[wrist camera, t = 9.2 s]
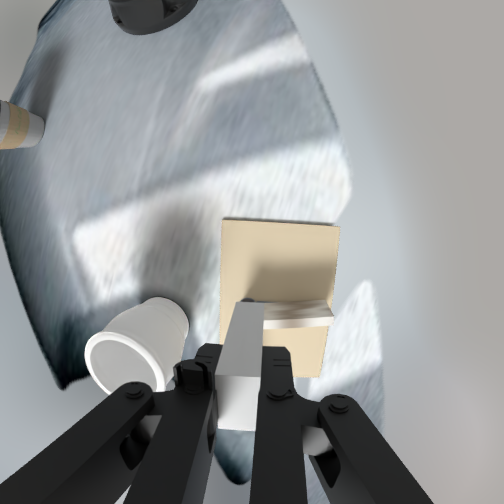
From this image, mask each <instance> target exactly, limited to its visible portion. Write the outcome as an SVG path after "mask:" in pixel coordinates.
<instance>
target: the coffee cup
mask: <svg viewBox="0 0 504 504" xmlns="http://www.w3.org/2000/svg"><path fill="white" fill-rule="evenodd" d="M43 133H44V121H43V119H42V118H41V117H39V116H37V115H35V114H32V113H30V112H28V111H27V110H25V109H23V108H21V107H18V106H16V105H14V104H11V103H9V102H7V101H2V100H0V149H13V148H19V147H33V146H35V145H37V144H38V143H39V142H40V140H41V138H42V136H43Z"/></svg>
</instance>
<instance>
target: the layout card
mask: <svg viewBox="0 0 504 504" xmlns="http://www.w3.org/2000/svg"><path fill="white" fill-rule="evenodd" d="M339 234H340V227H338V226H337V227H336V226H324V225H310V224H294V223H277V222H259V221H239V220H222V233H221V271H220V344H222V345H223V344H224V341H225V338H226V334H227V331H228V327H229V324H230V321H231V317H232V314H233V310H234V307H235V304H236V302H241V301H242V300H244V299H252V300H253V301H254V302H256V303H274V302H294V301H311V300H326V302H327V304H328V306H329V308H330V309H331V305H332V298H333V290H334V282H335V274H336V265H337V256H338V244H339ZM327 332H328V326H317V327H302V328H284V329H263V346H284V347H286V348H287V349H288V351H289V352H290V354H291V363H292V372H293V377H320V371H321V366H322V361H323V355H324V350H325V344H326V338H327Z"/></svg>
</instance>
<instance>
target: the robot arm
mask: <svg viewBox="0 0 504 504" xmlns="http://www.w3.org/2000/svg"><path fill="white" fill-rule="evenodd" d="M196 3H197V0H109V4H110V8H111V12H112V16H113V19H114V21H115V23H116V24H117V25H118V26H119V27H120V28H121V29H122V30H123V31H125V32H126V33H129V34H133V35H145V34H151V33H155V32H158V31H161V30H163V29H166V28H168V27H170V26H172V25H173V24H175V23H177V22H178V21H180V20H181V19H182V18H184V17H185V16H186V15H187V14H188V13H189V12H190V11H191V10H192V9H193V7H194V6H195V4H196ZM263 327H264V303H256V302H236V304H235V307H234V310H233V314H232V317H231V321H230V324H229V327H228V331H227V334H226V338H225V341H224V344H223V345H222V344H209V343H205V344H204V345H203V346H201V347H200V348H199V349H198V351H197V353H196V356H195V358H194V359H188V360H184V361H181V362H179V363H177V364H175V366H174V367H173V373H174V380H175V388H174V390H170V391H163V392H153V390H152V388H151V387H150V386H149V385H148V384H146V383H143V382H139V381H134V382H128V383H125V384H123V385H121V386H120V387H119V388H117V389H116V390H115V391H114V392H113V393H111V394H110V395H109V396H108V397H107V398H106V399H104V400H103V401H102V402H101V403H100V404H98V405H97V406H96V407H95V408H94V409H93V410H91V411H90V412H89V413H88V414H86V415H85V416H84V417H83V418H82V419H80V420H79V421H78V422H77V423H76V424H74V425H73V426H72V427H71V428H70V429H69V430H67V431H66V432H65V433H64V434H62V435H61V436H60V437H59V438H57V439H56V440H55V441H54V442H52V443H51V444H50V445H49V446H48V447H46V448H45V449H44V450H43V451H41V452H40V453H39V454H38V455H36V456H35V457H34V458H33V459H31V460H30V461H29V462H28V463H27V464H25V465H24V466H23V467H21V468H20V469H19V470H18V471H16V472H15V473H14V474H13V475H11V476H10V477H9V478H8V479H6V480H5V481H4V482H2V483H1V484H0V504H114V503H115V502H116V501H117V500H118V499H119V498H120V497H121V495H122V494H123V493H124V492H125V491H126V490H127V488H128V487H129V486H130V485H131V486H130V489H129V491H128V493H127V496H126V498H125V500H124V502H123V504H203V499H204V494H205V490H206V485H207V480H208V475H209V471H210V466H211V461H212V457H213V452H214V448H215V443H216V427H217V422H218V428H220V429H232V430H245V431H255V443H254V455H253V467H252V479H251V490H250V502H249V504H308V501H307V488H306V476H305V464H304V454H308V455H309V459H310V461H311V463H312V465H313V467H314V470H315V472H316V474H317V476H318V478H319V480H320V483H321V485H322V487H323V489H324V491H325V493H326V495H327V497H328V499H329V502H330V504H434V503H433V502H432V501H431V499H430V498H429V497H428V495H427V494H426V493H425V491H424V490H423V489H422V488H421V486H420V485H419V484H418V482H417V481H416V480H415V478H414V477H413V476H412V474H411V473H410V472H409V471H408V469H407V468H406V467H405V465H404V464H403V463H402V461H401V460H400V459H399V457H398V456H397V455H396V454H395V452H394V451H393V449H392V448H391V447H390V446H389V444H388V443H387V442H386V440H385V439H384V438H383V436H382V435H381V434H380V432H379V431H378V430H377V428H376V427H375V426H374V424H373V423H372V422H371V420H370V419H369V418H368V416H367V415H366V414H365V412H364V411H363V410H362V408H361V407H360V406H359V404H358V403H357V402H356V401H355V400H354V399H353V398H351V397H349V396H347V395H342V394H332V395H329V396H326V397H324V398H323V399H322V400H321V401H320V402H316V401H311V400H307V399H305V398H303V397H301V396H300V395H298V394H297V392H296V390H295V388H294V382H293V372H292V363H291V354H290V352H289V351H288V349H287V348H286V347H284V346H263Z"/></svg>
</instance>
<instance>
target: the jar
mask: <svg viewBox="0 0 504 504" xmlns="http://www.w3.org/2000/svg"><path fill="white" fill-rule="evenodd" d="M188 331H189V323H188V319H187V317H186V315H185V313H184V311H183V310H182V309H181V308H180V307H179V306H178V305H177V304H176V303H174V302H173V301H171V300H169V299H166V298H162V297H154V298H150V299H148V300H146V301H145V302H144V303H143V304H140V305H137V306H135V307H133V308H131V309H128V310H126V311H124V312H122V313H120V314H119V315H117V316H116V317H115V318H114V319H113V320H111V321H110V322H109V324H108V325H107V326H106V327H105V328H104V330H103V331H101V332H98V333H97V334H95V335H94V336H92V337H91V338H90V339H89V341H88V342H87V344H86V348H85V361H86V365H87V367H88V370H89V372H90V374H91V376H92V377H93V379H94V380H95V382H96V383H97V384H98V385H99V386H100V387H101V388H102V389H103V390H104V391H105V392H106V393H107V394H109V395H110V394H111V393H113V392H114V391H115V390H116V389H117V388H119V387H120V386H121V385H123V384H125V383H128V382H134V381H139V382H143V383H146V384H148V385H149V386H150V387H151V388H152V390H153V392H163V391H165V390H166V385H167V383H168V382H169V381H170V380H171V378H172V377H173V375H174V373H173V367H174V366H175V364H177V363H179V362H180V361H181V358H182V353H183V349H184V344H185V338H186V337H187V335H188Z"/></svg>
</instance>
